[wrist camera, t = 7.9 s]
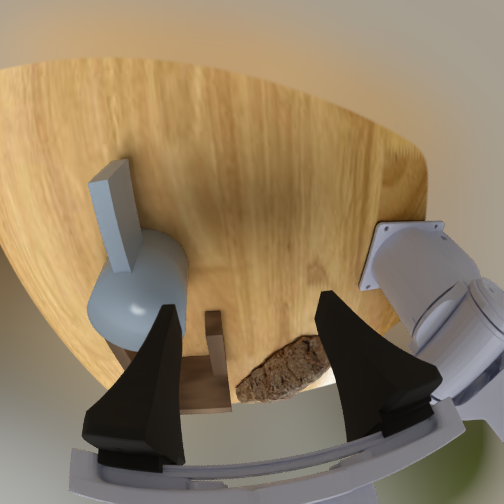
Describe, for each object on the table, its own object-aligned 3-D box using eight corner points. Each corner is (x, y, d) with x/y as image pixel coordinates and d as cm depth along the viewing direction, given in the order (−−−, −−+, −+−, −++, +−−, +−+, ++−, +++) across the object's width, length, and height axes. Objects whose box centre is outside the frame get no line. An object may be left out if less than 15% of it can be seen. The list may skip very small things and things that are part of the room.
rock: (297, 324, 30) (311, 367, 25) (353, 340, 34) (368, 374, 29) (231, 386, 36) (236, 421, 31) (286, 393, 40) (294, 423, 35)
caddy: (220, 310, 26) (226, 372, 20) (226, 360, 31) (232, 411, 26) (110, 316, 25) (96, 373, 19) (136, 364, 30) (131, 413, 24)
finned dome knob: (174, 147, 17) (157, 179, 12) (193, 292, 24) (192, 351, 19) (83, 162, 16) (38, 199, 11) (122, 296, 23) (108, 352, 18)
